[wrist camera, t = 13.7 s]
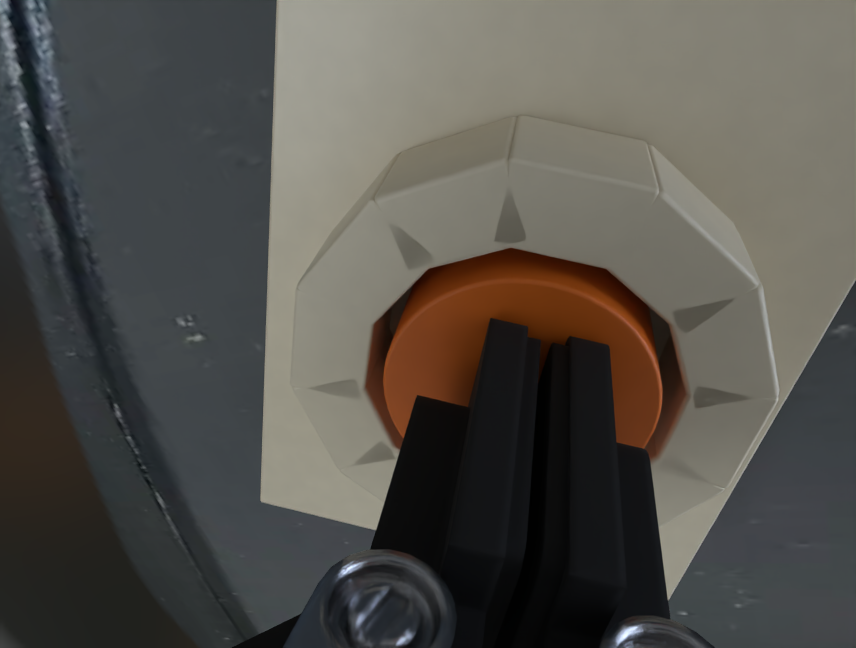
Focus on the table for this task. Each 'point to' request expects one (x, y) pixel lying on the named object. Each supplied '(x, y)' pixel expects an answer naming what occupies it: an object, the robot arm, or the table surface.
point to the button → (546, 319)
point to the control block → (557, 211)
